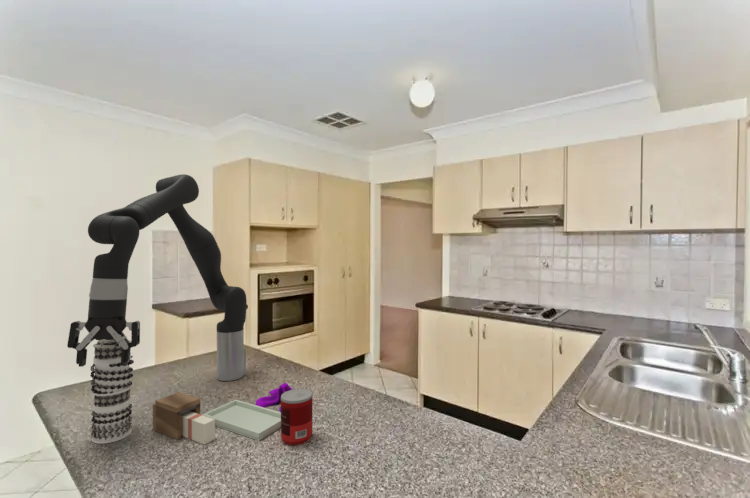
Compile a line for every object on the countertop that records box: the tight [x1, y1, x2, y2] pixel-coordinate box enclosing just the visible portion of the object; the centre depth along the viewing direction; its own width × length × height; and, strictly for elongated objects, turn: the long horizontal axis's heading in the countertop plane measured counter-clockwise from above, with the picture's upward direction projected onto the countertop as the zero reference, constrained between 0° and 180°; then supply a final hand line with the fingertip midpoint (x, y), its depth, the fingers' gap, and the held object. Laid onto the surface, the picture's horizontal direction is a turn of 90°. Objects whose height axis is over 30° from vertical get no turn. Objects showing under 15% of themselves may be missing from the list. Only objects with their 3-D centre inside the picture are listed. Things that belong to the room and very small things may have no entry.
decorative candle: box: [90, 337, 135, 445], centre depth 97 cm, size 9×9×25 cm
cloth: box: [255, 382, 293, 412], centre depth 120 cm, size 22×19×6 cm
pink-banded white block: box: [181, 411, 216, 445], centre depth 98 cm, size 3×14×5 cm, turn 61°
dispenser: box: [152, 391, 201, 440], centre depth 101 cm, size 7×10×8 cm, turn 61°
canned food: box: [280, 388, 313, 446], centre depth 97 cm, size 8×8×11 cm
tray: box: [202, 399, 281, 442], centre depth 105 cm, size 12×22×2 cm, turn 61°
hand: (103, 365), depth 92 cm, fingers open, 8 cm apart
